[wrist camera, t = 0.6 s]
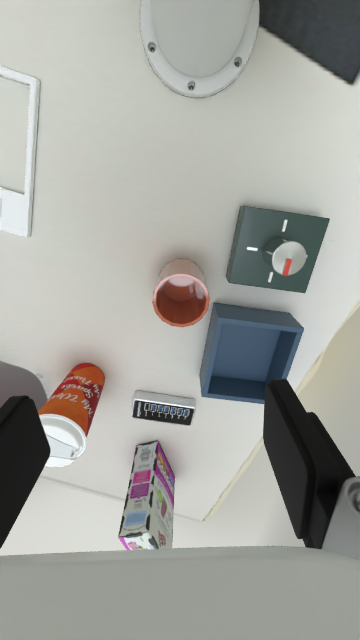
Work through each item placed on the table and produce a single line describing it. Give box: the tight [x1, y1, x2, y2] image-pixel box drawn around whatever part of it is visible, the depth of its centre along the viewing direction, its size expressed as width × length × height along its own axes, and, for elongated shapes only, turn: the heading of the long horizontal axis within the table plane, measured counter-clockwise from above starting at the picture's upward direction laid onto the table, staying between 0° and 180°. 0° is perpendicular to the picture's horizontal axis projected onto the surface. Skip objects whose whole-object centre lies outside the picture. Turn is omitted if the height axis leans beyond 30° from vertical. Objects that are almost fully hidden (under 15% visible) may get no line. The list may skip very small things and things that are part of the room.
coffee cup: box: [38, 363, 105, 467], centre depth 41 cm, size 8×8×15 cm
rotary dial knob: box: [262, 237, 306, 276], centre depth 34 cm, size 4×4×5 cm
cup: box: [152, 259, 210, 327], centre depth 37 cm, size 7×7×9 cm
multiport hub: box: [131, 391, 195, 426], centre depth 49 cm, size 4×11×2 cm, turn 80°
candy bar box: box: [118, 441, 175, 550], centre depth 49 cm, size 11×5×16 cm, turn 18°
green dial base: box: [226, 206, 330, 293], centre depth 38 cm, size 10×11×3 cm
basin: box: [200, 303, 304, 404], centre depth 43 cm, size 14×12×6 cm
